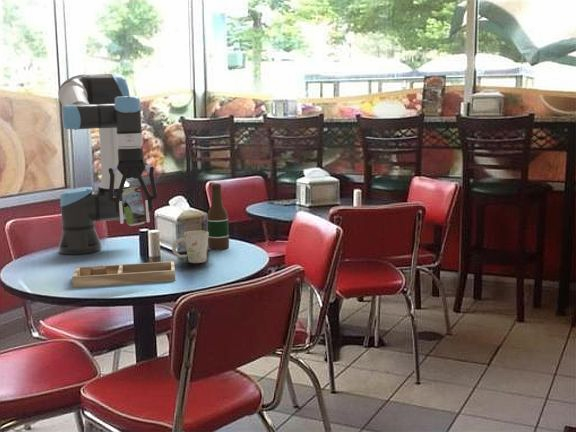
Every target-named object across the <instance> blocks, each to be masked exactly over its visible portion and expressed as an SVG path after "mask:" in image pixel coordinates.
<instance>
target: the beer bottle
mask: <svg viewBox="0 0 576 432" xmlns="http://www.w3.org/2000/svg"><path fill="white" fill-rule="evenodd" d="M210 187H211V204H210V207H209V209H208V211H207V214H206V224H207V228H206V229H207V231H208V233H209V234H208V246H207V248H208V249H210V250H212V251H221V250H226V249H229V247H230V233H229V230H230V229H229V215H228V211H227V209H226V208H225V206H224V205H223V204H224V203H223V198H222V197H223V196H222V189H221V188H222V184H221V183H213V184H211V186H210Z"/></svg>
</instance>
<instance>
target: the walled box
mask: <svg viewBox="0 0 576 432" xmlns="http://www.w3.org/2000/svg"><path fill="white" fill-rule="evenodd" d="M94 266H95V265H94ZM94 266H90V265H89V266H77V267H76V269H75V271H74V272H73V274H72V277H71V282H72V288H81V287H82V288H84V287H85V288H86V287H97V286H99V287H100V286H113V285H115V286H116V285H127V284H129V285H130V284H143V283H144V284H145V283H158V282H159V283H160V282H171V281H172V282H173V281H176V270H175V267H176V266H175V261H174V260H171V261H170V260H169V261H156V262H139V263H124V264H121V263H120V264H110V265H109V264H108V265H107V264H106V265H103V266H104V267H106V269H107V274H105V275H90V267H94Z"/></svg>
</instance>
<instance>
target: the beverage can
mask: <svg viewBox="0 0 576 432" xmlns="http://www.w3.org/2000/svg"><path fill="white" fill-rule="evenodd" d="M141 190H142V189H140V188H139V186H134V187H130V188H128V189H123V190H122V193H121V196H122V201H123V206H124V212H125V217H126V219H125V220H126V221H125V222H126V225H127V226H129V227H133V226H138V225H143V224H145V223H146V222H147V221H146V209H145V205H144V199H143V195H142V191H141Z"/></svg>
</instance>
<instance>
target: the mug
mask: <svg viewBox="0 0 576 432" xmlns="http://www.w3.org/2000/svg"><path fill="white" fill-rule="evenodd" d="M208 234H209V233H208V230H207V231H206V230H201V229H199V230H189V231H185V232H184V233H183V237H182V238H181V237H180V238H177V239H176V240H174V242H173V243H172V247H171V250H172V253H173V254H174V255H175V257H177V258H181V259H182V258H187V259H188V260H187V261H188V263H191V264H200V263H201V264H202V263H206V262H207V256H208ZM179 243H184V244H185V248H186V254H180V253H179V252H178V251H177V245H178V244H179Z"/></svg>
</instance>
